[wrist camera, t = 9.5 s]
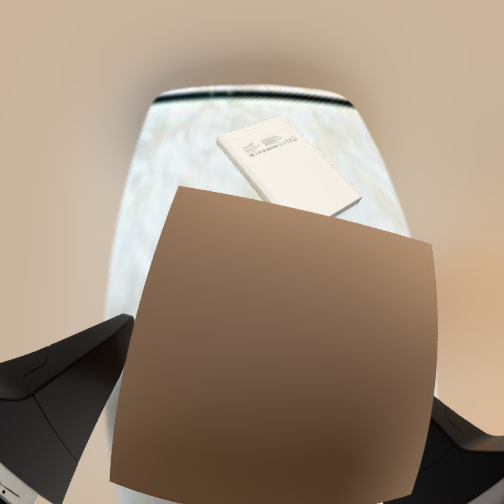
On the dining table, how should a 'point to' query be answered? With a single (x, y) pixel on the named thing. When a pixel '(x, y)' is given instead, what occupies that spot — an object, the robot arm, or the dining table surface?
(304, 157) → the external hard drive
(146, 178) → the dining table surface
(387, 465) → the walnut post
